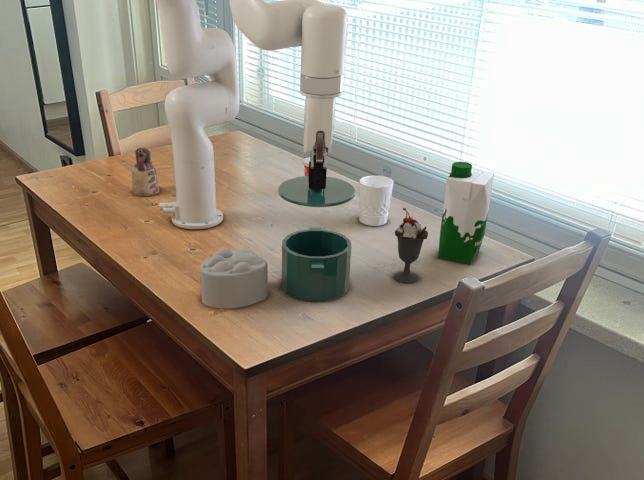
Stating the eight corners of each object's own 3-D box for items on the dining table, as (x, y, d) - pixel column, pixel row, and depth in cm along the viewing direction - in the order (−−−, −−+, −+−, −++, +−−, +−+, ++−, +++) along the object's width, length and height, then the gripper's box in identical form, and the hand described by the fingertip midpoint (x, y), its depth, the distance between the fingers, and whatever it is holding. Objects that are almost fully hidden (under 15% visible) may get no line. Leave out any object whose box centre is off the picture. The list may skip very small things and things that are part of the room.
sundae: (386, 271, 152) (392, 204, 144) (417, 269, 153) (425, 202, 144) (393, 285, 147) (401, 216, 139) (426, 284, 147) (435, 215, 139)
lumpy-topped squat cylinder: (273, 297, 143) (273, 258, 139) (215, 314, 138) (213, 274, 133) (247, 277, 151) (246, 239, 146) (192, 292, 145) (189, 253, 141)
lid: (277, 209, 131) (277, 176, 128) (278, 180, 143) (279, 150, 140) (357, 211, 131) (360, 178, 127) (352, 182, 143) (354, 151, 139)
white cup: (388, 228, 171) (392, 188, 166) (355, 226, 172) (358, 185, 167) (390, 215, 178) (394, 176, 172) (358, 213, 179) (361, 174, 173)
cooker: (281, 308, 140) (281, 264, 135) (282, 264, 156) (282, 223, 150) (351, 309, 139) (354, 264, 134) (345, 265, 155) (348, 224, 150)
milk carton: (444, 243, 164) (456, 157, 152) (484, 251, 160) (500, 163, 149) (432, 258, 157) (444, 169, 146) (473, 267, 153) (489, 176, 142)
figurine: (162, 187, 196) (158, 143, 189) (155, 197, 190) (150, 152, 183) (137, 186, 197) (132, 142, 190) (129, 195, 191) (124, 151, 184)
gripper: (299, 73, 132) (296, 170, 143) (300, 96, 119) (297, 201, 130) (340, 73, 132) (334, 171, 143) (345, 96, 119) (338, 202, 129)
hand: (316, 184), depth 136 cm, fingers closed on lid, 2 cm apart
